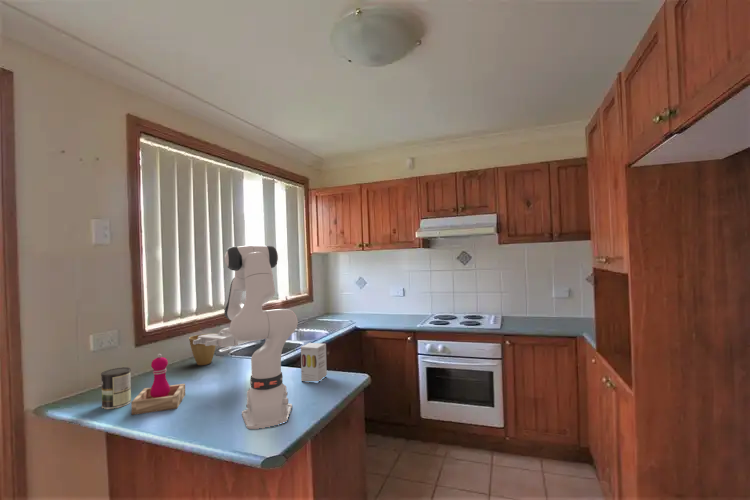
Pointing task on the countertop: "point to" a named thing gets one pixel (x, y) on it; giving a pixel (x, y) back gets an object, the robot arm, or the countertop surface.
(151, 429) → the countertop surface
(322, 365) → the supplement box
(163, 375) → the pepper mill
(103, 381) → the coffee can
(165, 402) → the crate
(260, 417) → the robot arm
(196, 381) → the countertop surface
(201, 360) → the plant pot
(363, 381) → the countertop surface
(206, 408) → the countertop surface
